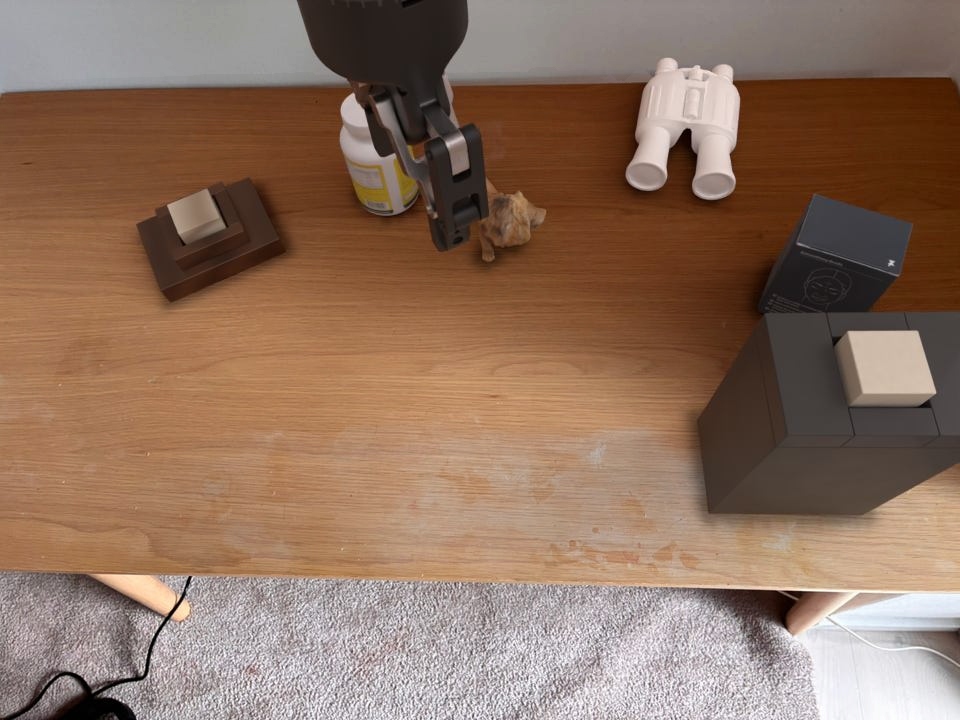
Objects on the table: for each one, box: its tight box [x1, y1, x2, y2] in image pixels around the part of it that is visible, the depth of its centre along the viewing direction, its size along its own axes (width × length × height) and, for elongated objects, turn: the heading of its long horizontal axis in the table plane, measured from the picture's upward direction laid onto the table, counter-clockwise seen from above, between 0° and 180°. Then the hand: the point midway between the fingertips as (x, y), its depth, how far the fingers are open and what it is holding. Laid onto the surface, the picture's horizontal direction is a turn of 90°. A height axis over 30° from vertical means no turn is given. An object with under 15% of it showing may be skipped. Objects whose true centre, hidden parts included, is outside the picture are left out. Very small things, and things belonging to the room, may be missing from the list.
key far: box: [167, 188, 226, 245], centre depth 65 cm, size 4×4×2 cm
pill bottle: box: [339, 92, 420, 217], centre depth 66 cm, size 6×6×12 cm
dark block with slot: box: [696, 311, 960, 516], centre depth 48 cm, size 12×8×18 cm, turn 89°
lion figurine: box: [475, 177, 547, 263], centre depth 64 cm, size 15×5×9 cm, turn 35°
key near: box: [834, 331, 936, 407], centre depth 40 cm, size 4×4×2 cm
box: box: [756, 193, 914, 315], centre depth 58 cm, size 8×6×11 cm
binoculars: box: [625, 57, 741, 201], centre depth 70 cm, size 10×16×5 cm, turn 167°
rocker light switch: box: [135, 176, 286, 303], centre depth 67 cm, size 12×9×4 cm
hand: (421, 194), depth 43 cm, fingers open, 8 cm apart
